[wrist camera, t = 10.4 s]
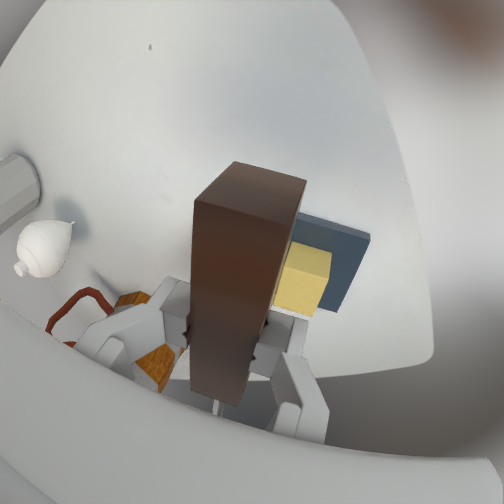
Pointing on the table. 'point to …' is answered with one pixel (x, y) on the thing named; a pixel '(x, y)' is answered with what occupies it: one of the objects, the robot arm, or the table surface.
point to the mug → (147, 367)
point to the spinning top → (43, 248)
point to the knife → (236, 273)
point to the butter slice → (303, 279)
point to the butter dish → (333, 254)
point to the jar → (17, 190)
